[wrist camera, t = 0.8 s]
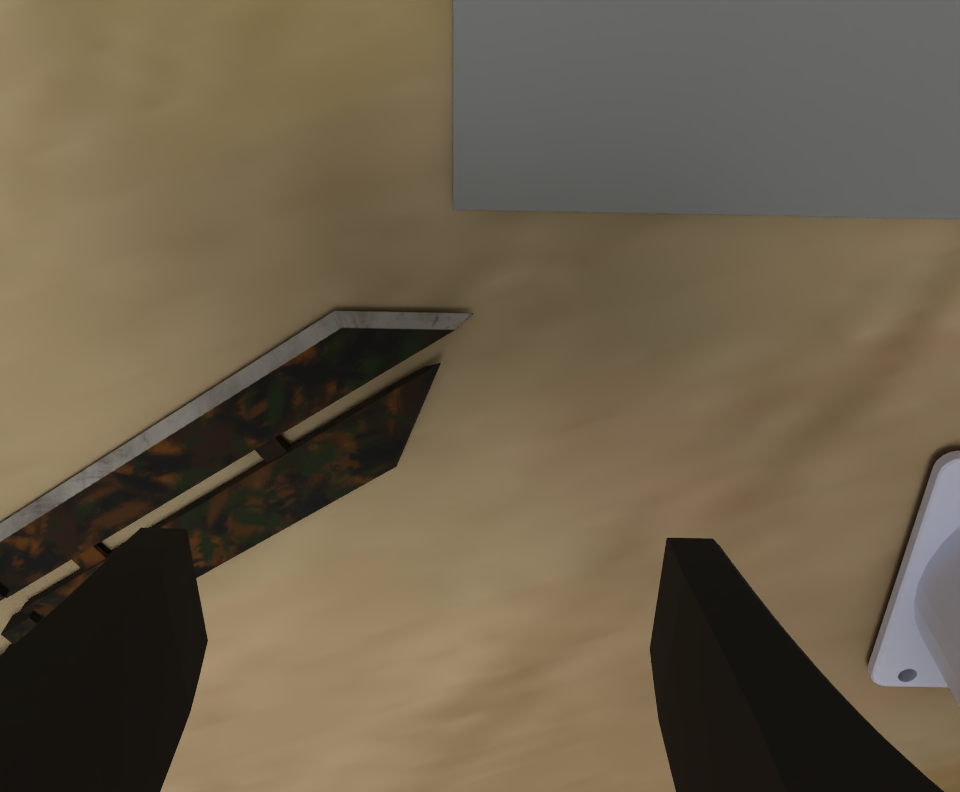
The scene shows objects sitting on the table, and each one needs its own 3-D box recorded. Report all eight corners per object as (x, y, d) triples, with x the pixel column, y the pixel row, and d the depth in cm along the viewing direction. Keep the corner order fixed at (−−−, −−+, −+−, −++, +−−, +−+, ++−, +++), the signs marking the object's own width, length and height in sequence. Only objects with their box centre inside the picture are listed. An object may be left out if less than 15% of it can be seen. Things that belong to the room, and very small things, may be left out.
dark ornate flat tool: (436, 248, 21) (433, 273, 20) (564, 459, 24) (568, 493, 23) (-319, 638, 28) (-357, 676, 26) (-145, 766, 31) (-172, 806, 29)
